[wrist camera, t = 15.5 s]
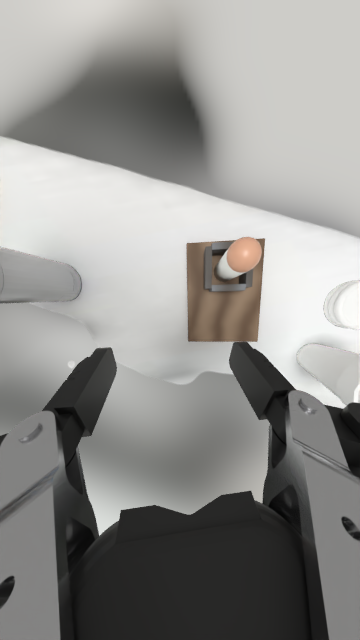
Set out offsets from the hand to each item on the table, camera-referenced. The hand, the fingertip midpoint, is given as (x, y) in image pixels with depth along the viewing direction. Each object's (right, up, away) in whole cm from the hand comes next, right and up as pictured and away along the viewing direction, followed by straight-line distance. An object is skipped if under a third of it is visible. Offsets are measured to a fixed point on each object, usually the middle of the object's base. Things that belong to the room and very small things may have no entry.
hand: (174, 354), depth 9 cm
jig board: (+10, +8, +22) cm, 26 cm away
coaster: (+37, +6, +21) cm, 43 cm away
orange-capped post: (+10, +13, +20) cm, 26 cm away
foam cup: (+32, -6, +23) cm, 40 cm away
